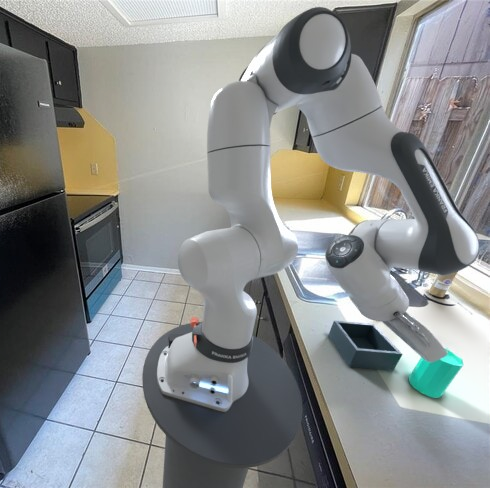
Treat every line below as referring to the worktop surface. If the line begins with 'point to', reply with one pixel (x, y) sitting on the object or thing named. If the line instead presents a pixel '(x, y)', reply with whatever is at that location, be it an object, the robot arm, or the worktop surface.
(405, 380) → the worktop surface
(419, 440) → the worktop surface
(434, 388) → the candle
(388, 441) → the worktop surface
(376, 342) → the bin
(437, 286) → the sprinkles bottle
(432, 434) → the worktop surface
